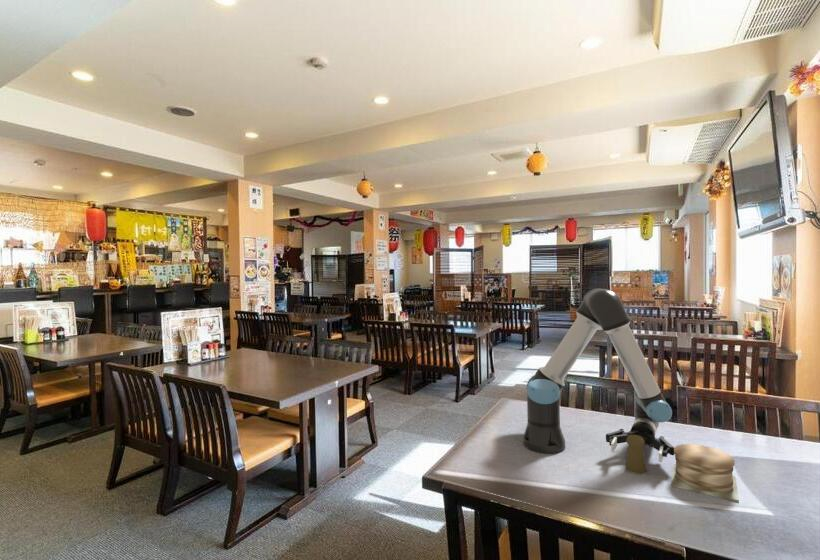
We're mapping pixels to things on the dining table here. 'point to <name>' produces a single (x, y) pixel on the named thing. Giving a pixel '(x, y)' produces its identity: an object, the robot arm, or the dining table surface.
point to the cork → (635, 455)
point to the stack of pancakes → (704, 471)
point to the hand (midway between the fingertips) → (635, 452)
